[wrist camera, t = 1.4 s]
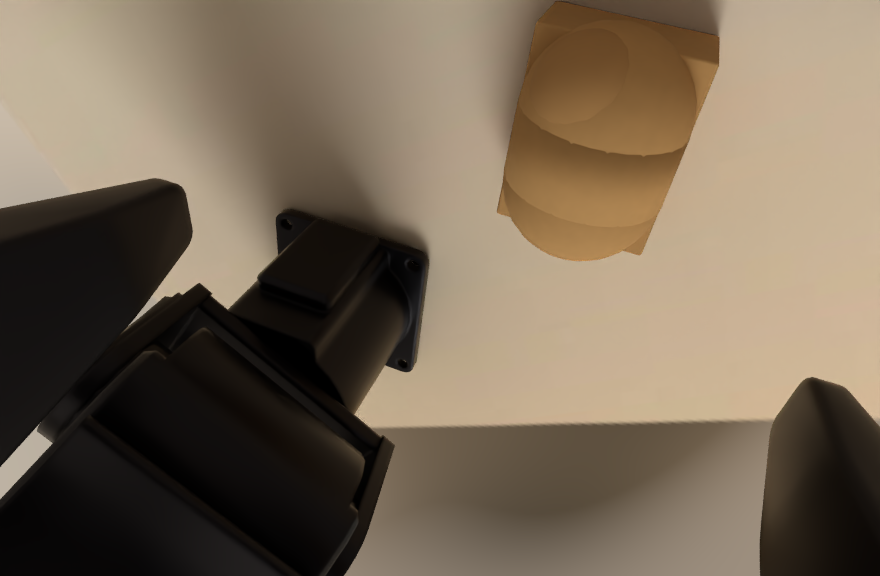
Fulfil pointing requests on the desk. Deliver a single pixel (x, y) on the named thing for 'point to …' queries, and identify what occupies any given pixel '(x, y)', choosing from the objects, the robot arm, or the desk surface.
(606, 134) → the tan arched block
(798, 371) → the desk surface
